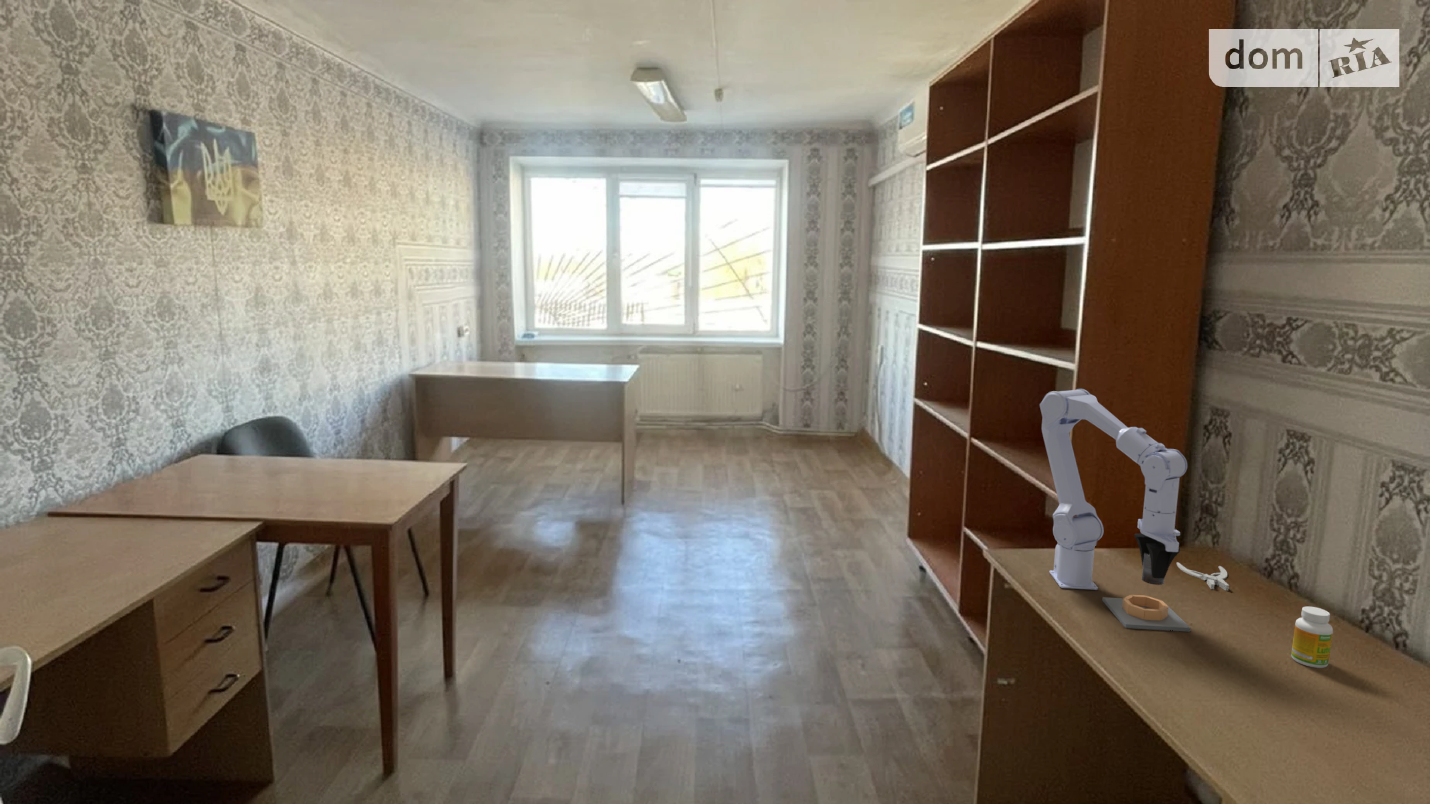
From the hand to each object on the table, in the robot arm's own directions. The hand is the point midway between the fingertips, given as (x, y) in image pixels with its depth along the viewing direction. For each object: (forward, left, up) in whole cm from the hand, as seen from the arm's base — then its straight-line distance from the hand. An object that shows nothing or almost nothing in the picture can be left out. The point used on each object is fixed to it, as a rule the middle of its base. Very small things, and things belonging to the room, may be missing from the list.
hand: (1153, 573), depth 158 cm
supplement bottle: (+17, +21, -9) cm, 28 cm away
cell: (0, 0, -2) cm, 2 cm away
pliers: (-23, +22, -10) cm, 33 cm away
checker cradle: (+1, -1, -9) cm, 9 cm away
